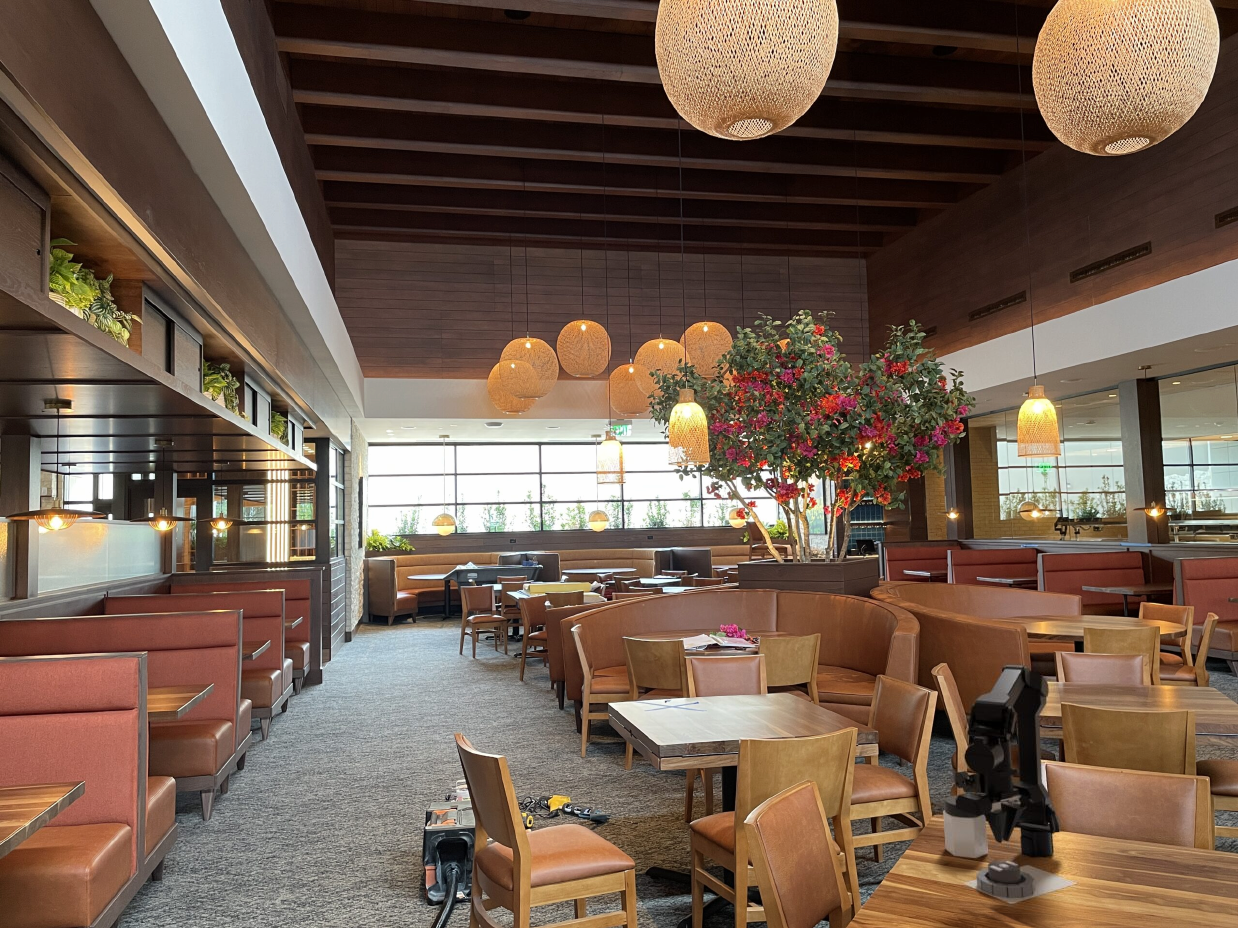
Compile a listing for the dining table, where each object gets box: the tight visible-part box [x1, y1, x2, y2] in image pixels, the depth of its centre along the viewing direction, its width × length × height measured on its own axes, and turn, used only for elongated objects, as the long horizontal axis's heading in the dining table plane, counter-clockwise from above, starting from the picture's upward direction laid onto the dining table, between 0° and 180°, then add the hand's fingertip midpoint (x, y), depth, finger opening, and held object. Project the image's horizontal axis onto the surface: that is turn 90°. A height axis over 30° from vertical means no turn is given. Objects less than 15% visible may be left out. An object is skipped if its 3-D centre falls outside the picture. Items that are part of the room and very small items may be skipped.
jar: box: [942, 795, 989, 859], centre depth 202 cm, size 9×8×12 cm
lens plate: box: [962, 864, 1079, 905], centre depth 182 cm, size 19×12×3 cm, turn 116°
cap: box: [987, 860, 1021, 884], centre depth 180 cm, size 6×6×4 cm
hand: (1002, 841), depth 181 cm, fingers closed
